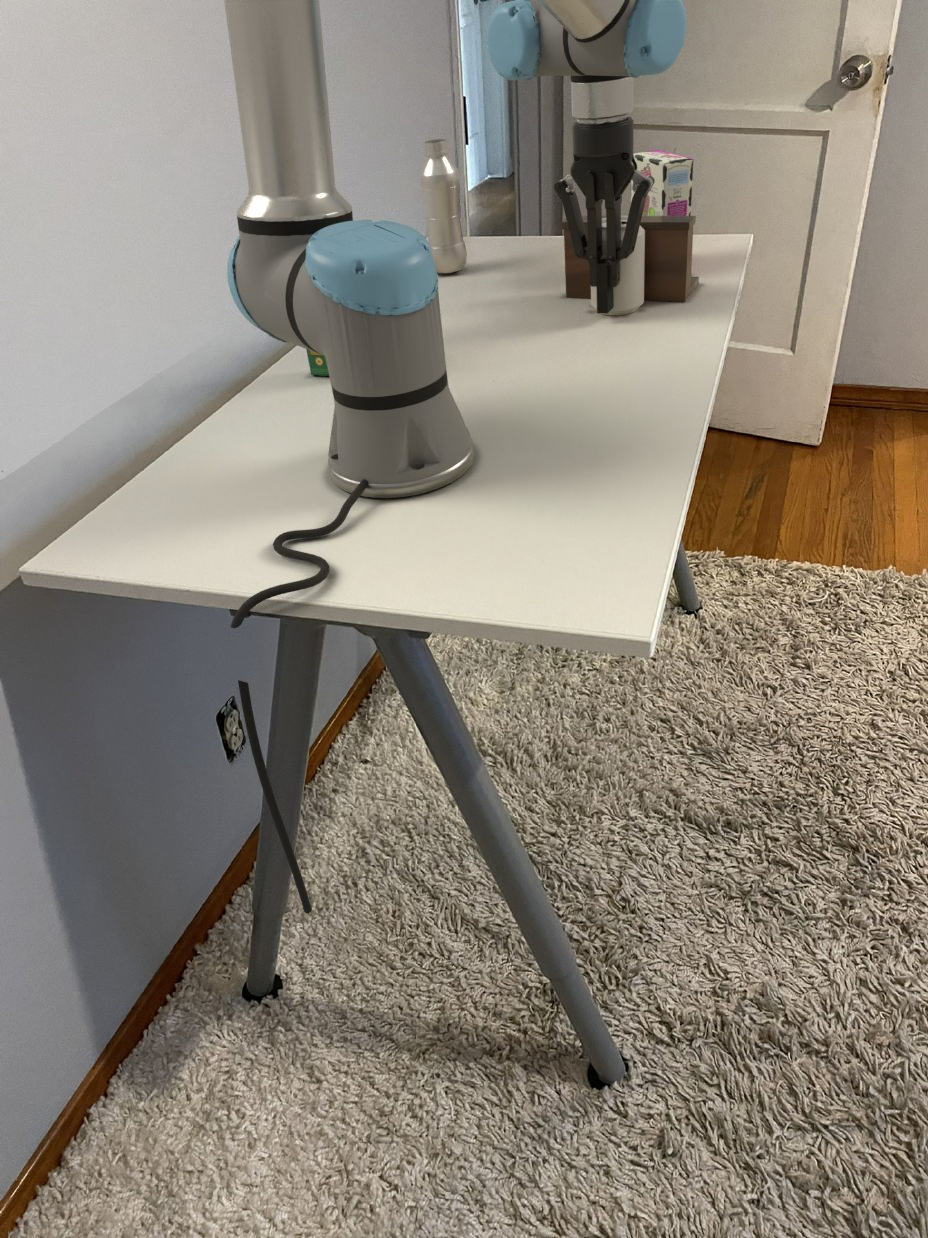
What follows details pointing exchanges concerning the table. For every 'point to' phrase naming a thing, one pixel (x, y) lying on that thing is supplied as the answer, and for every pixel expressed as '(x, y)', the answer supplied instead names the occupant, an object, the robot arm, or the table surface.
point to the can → (626, 275)
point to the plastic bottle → (442, 207)
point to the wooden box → (646, 260)
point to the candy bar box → (666, 183)
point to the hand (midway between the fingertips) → (605, 309)
